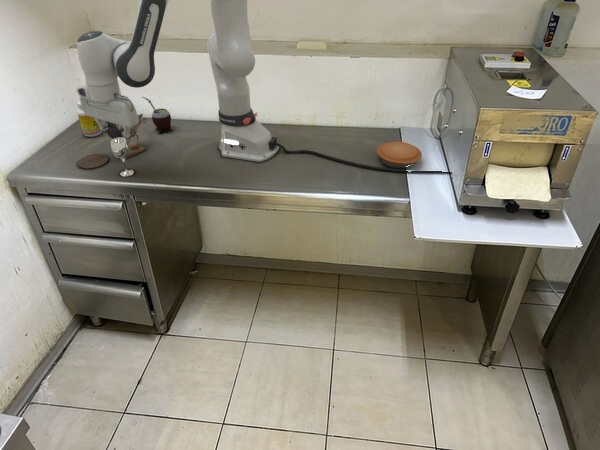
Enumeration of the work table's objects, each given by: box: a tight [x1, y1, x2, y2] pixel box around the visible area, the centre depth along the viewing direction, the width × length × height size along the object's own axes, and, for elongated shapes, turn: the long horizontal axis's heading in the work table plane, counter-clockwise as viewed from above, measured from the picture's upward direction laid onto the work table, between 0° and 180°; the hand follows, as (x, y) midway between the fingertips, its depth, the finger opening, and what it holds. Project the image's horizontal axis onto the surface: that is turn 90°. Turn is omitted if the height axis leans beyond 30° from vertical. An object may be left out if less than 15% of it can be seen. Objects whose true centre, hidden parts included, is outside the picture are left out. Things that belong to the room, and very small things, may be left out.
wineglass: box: [110, 137, 135, 177], centre depth 143 cm, size 6×6×12 cm
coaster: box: [77, 153, 109, 170], centre depth 153 cm, size 10×10×1 cm
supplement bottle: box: [76, 100, 103, 138], centre depth 167 cm, size 7×7×13 cm
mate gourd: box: [141, 96, 172, 135], centre depth 169 cm, size 8×8×15 cm
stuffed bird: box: [94, 113, 148, 159], centre depth 154 cm, size 10×20×17 cm, turn 161°
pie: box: [376, 141, 423, 170], centre depth 153 cm, size 15×16×5 cm
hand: (115, 133), depth 138 cm, fingers open, 8 cm apart
